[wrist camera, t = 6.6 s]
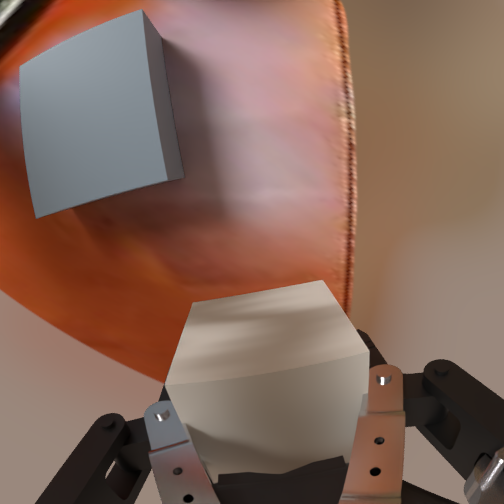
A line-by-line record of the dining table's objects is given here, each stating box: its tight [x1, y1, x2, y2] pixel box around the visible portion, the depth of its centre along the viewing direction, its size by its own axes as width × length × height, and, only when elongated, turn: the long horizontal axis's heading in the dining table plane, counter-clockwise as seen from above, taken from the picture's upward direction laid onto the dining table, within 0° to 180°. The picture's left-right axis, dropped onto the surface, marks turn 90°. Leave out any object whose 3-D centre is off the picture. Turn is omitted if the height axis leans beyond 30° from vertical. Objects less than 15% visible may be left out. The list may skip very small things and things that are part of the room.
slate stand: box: [20, 9, 185, 219], centre depth 21 cm, size 12×14×6 cm
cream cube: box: [165, 280, 370, 483], centre depth 11 cm, size 6×6×6 cm
